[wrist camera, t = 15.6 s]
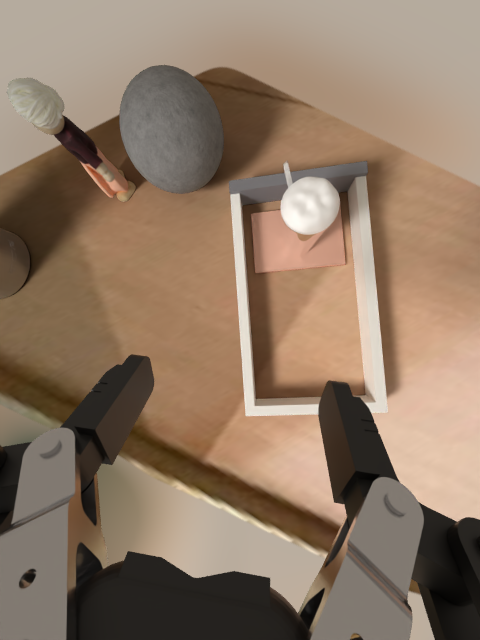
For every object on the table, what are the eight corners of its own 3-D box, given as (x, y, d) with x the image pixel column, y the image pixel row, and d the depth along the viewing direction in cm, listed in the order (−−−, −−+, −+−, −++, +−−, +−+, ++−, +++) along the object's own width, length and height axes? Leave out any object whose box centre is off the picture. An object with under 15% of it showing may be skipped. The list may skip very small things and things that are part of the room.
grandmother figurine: (92, 183, 30) (-32, 82, 18) (110, 159, 30) (-4, 39, 18) (135, 217, 29) (36, 136, 17) (154, 193, 29) (67, 92, 17)
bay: (247, 407, 27) (245, 417, 24) (233, 196, 28) (228, 181, 25) (376, 404, 25) (390, 414, 22) (355, 179, 26) (366, 160, 23)
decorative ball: (203, 224, 28) (168, 169, 18) (138, 187, 30) (72, 116, 20) (246, 152, 28) (234, 57, 18) (178, 117, 29) (132, 9, 19)
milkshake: (294, 209, 27) (309, 139, 17) (326, 242, 26) (361, 191, 16) (264, 236, 27) (261, 183, 17) (295, 270, 27) (311, 236, 17)
